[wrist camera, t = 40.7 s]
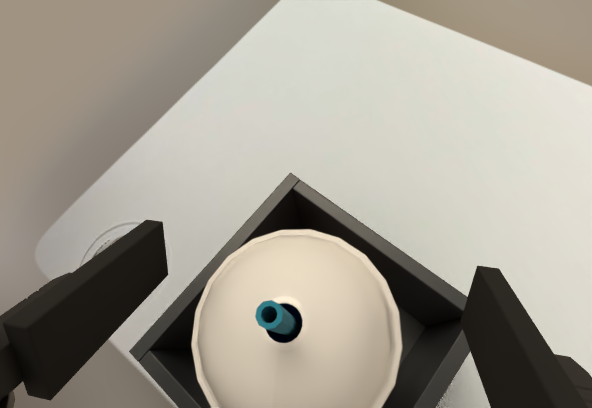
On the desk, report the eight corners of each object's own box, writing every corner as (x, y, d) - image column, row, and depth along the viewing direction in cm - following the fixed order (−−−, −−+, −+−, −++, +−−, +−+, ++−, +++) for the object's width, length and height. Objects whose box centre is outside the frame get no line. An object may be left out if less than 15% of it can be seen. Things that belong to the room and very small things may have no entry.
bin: (194, 350, 27) (128, 351, 18) (302, 223, 31) (290, 172, 22) (330, 490, 23) (329, 580, 14) (438, 325, 26) (493, 314, 17)
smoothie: (235, 351, 26) (19, 358, 8) (298, 262, 29) (243, 109, 10) (325, 427, 24) (317, 691, 6) (387, 324, 26) (524, 268, 8)
